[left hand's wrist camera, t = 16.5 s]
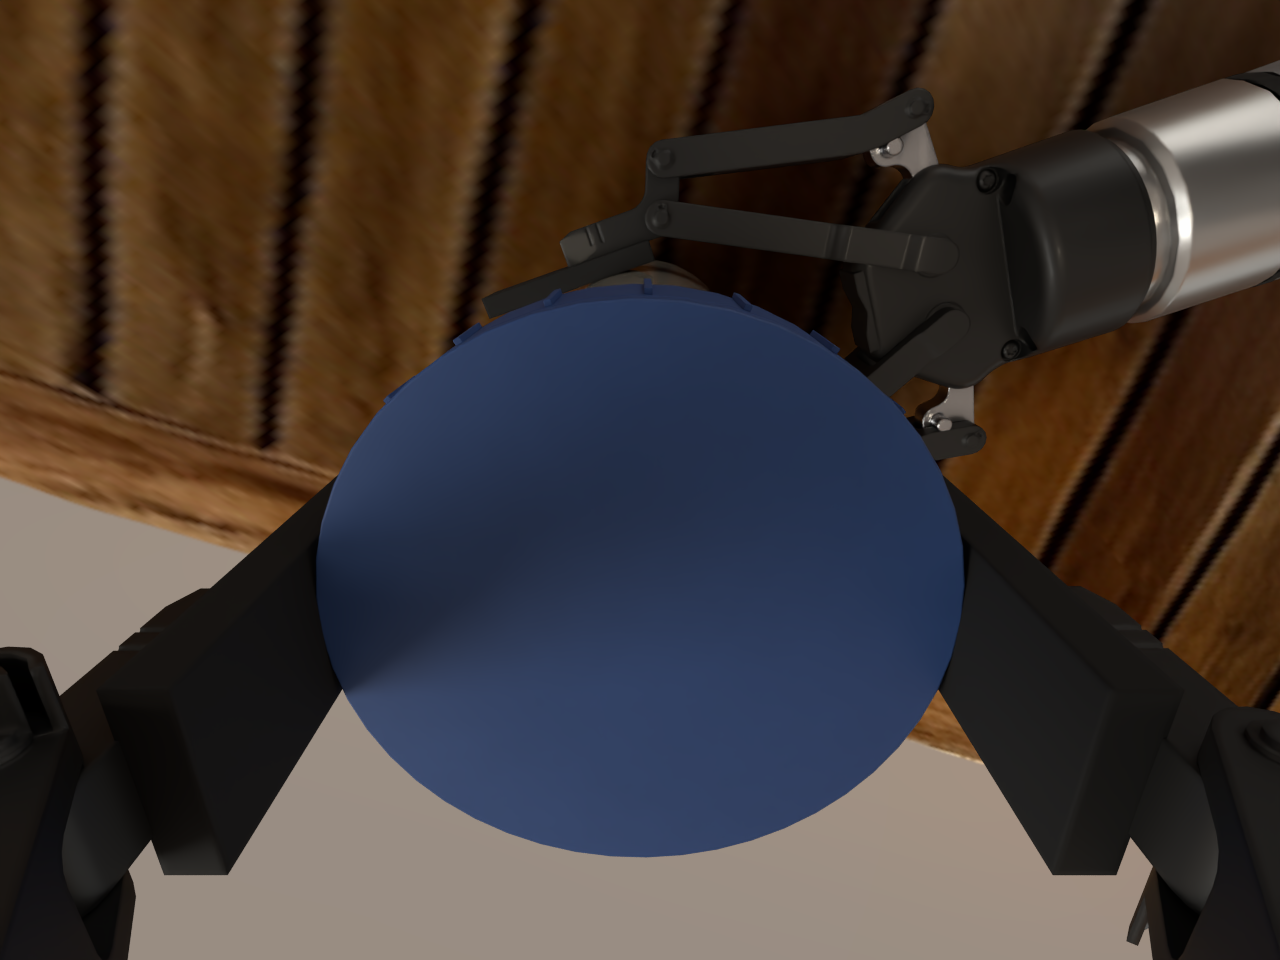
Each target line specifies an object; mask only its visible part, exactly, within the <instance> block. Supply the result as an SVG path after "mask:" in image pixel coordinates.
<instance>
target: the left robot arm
mask: <svg viewBox="0 0 1280 960" xmlns="http://www.w3.org/2000/svg"><path fill="white" fill-rule="evenodd" d="M942 476H943V475H942ZM337 477H338V475H337V476H336V477H335V478H334V479H333V480H332V481H331V482H330V483H328V484H327V485H326V486H325V487H324V488H323V489H322V490H321V491H319V492H318V493H317V494H316V495H315V496H314V497H313V498H312V499H310V500H309V501H308V502H307V503H306V504H305V505H304V506H303V507H301V508H300V509H299V510H298V511H297V512H296V513H295V514H294V515H292V516H291V517H290V518H289V519H288V520H287V521H286V522H285V523H283V524H282V525H281V526H280V527H279V528H278V529H277V530H276V531H274V532H273V533H272V534H271V535H270V536H269V537H268V538H267V539H265V540H264V541H263V542H262V543H261V544H260V545H259V546H258V547H256V548H255V549H254V550H253V551H252V552H251V553H250V554H248V555H247V556H246V557H245V558H244V559H243V560H242V561H241V562H239V563H238V564H237V565H236V566H235V567H234V568H233V569H232V570H230V571H229V572H228V573H227V574H226V575H225V576H224V577H223V578H221V579H220V580H219V581H218V582H217V583H216V584H215V585H214V586H212V587H211V588H210V589H199V590H197V591H195V592H193V593H191V594H189V595H187V596H185V597H183V598H182V599H180V600H178V601H176V602H174V603H172V604H170V605H168V606H166V607H165V608H164V609H162V610H161V611H160V612H159V613H158V614H156V615H155V616H154V617H153V618H152V619H151V620H149V621H148V622H147V623H146V624H145V625H144V626H142V627H141V628H140V632H137V633H134V634H133V635H132V636H130V637H129V638H128V639H127V640H126V641H124V642H123V643H122V644H121V645H120V646H119V650H118V651H113V652H111V653H110V654H109V655H108V656H107V657H106V658H104V659H103V660H102V661H101V662H100V663H98V664H97V665H96V666H95V667H94V668H92V669H91V670H90V671H89V672H88V673H87V674H85V675H84V676H83V677H82V678H81V679H79V680H78V681H77V682H76V683H75V684H74V685H72V686H71V687H70V688H69V689H68V690H66V691H65V692H64V693H63V694H62V695H60V696H59V694H58V691H57V689H56V686H55V684H54V681H53V679H52V676H51V674H50V671H49V669H48V666H47V664H46V661H45V659H44V656H43V654H41V653H39V652H38V651H36V650H34V649H32V648H25V647H3V648H0V960H128V952H129V945H130V937H131V930H132V922H133V915H134V907H135V899H136V895H135V890H134V884H133V880H132V878H131V875H130V873H129V870H128V869H129V867H130V866H131V865H132V864H133V862H134V861H135V860H136V858H137V857H138V856H139V854H140V853H141V852H142V851H143V849H144V848H145V847H146V845H147V844H148V843H149V842H150V840H151V841H152V843H153V846H154V849H155V851H156V854H157V857H158V859H159V862H160V865H161V868H162V870H163V873H164V875H228V874H229V872H230V870H231V869H232V867H233V865H234V864H235V862H236V860H237V859H238V857H239V856H240V854H241V852H242V851H243V849H244V847H245V846H246V844H247V843H248V841H249V840H250V838H251V836H252V835H253V833H254V831H255V830H256V828H257V827H258V825H259V823H260V822H261V820H262V818H263V817H264V815H265V814H266V812H267V810H268V809H269V807H270V805H271V804H272V802H273V801H274V799H275V797H276V796H277V794H278V792H279V791H280V789H281V788H282V786H283V784H284V783H285V781H286V780H287V778H288V776H289V775H290V773H291V771H292V770H293V768H294V767H295V765H296V763H297V762H298V760H299V759H300V757H301V755H302V754H303V752H304V750H305V749H306V747H307V746H308V744H309V742H310V741H311V739H312V737H313V736H314V734H315V733H316V731H317V729H318V728H319V726H320V724H321V723H322V721H323V720H324V718H325V716H326V715H327V713H328V712H329V710H330V708H331V707H332V705H333V703H334V702H335V700H336V699H337V697H338V695H339V694H340V692H341V690H342V687H341V685H340V682H339V680H338V678H337V676H336V674H335V672H334V670H333V668H332V665H331V661H330V658H329V655H328V652H327V648H326V644H325V640H324V636H323V631H322V626H321V621H320V615H319V610H318V605H317V600H316V556H317V549H318V543H319V536H320V530H321V523H322V519H323V516H324V513H325V510H326V507H327V504H328V501H329V497H330V494H331V491H332V488H333V485H334V483H335V481H336V479H337ZM943 479H944V481H945V484H946V486H947V489H948V492H949V494H950V497H951V499H952V502H953V505H954V507H955V511H956V516H957V520H958V525H959V530H960V535H961V540H962V544H963V558H964V577H965V588H964V598H963V608H962V613H961V619H960V624H959V628H958V633H957V638H956V642H955V647H954V651H953V654H952V657H951V660H950V662H949V665H948V667H947V669H946V672H945V674H944V677H943V679H942V681H941V684H940V686H939V689H938V690H939V691H940V693H941V695H942V696H943V698H944V699H945V701H946V703H947V704H948V706H949V708H950V709H951V711H952V712H953V714H954V716H955V717H956V719H957V721H958V722H959V724H960V725H961V727H962V729H963V730H964V732H965V733H966V735H967V737H968V738H969V740H970V742H971V743H972V745H973V746H974V748H975V750H976V751H977V753H978V755H979V756H980V758H981V759H982V761H983V763H984V764H985V766H986V768H987V769H988V771H989V772H990V774H991V776H992V777H993V779H994V780H995V782H996V784H997V785H998V787H999V789H1000V790H1001V792H1002V793H1003V795H1004V797H1005V798H1006V800H1007V801H1008V803H1009V805H1010V806H1011V808H1012V810H1013V811H1014V813H1015V815H1016V816H1017V818H1018V819H1019V821H1020V823H1021V824H1022V826H1023V827H1024V829H1025V831H1026V832H1027V834H1028V836H1029V837H1030V839H1031V840H1032V842H1033V844H1034V845H1035V847H1036V849H1037V850H1038V852H1039V853H1040V855H1041V856H1042V858H1043V860H1044V861H1045V863H1046V865H1047V866H1048V868H1049V870H1050V871H1051V873H1052V874H1053V875H1117V872H1118V869H1119V866H1120V864H1121V861H1122V858H1123V856H1124V853H1125V850H1126V848H1127V845H1128V842H1129V839H1130V837H1131V838H1132V840H1133V841H1134V842H1135V844H1136V845H1137V846H1138V847H1139V849H1140V850H1141V851H1142V853H1143V854H1144V855H1145V856H1146V858H1147V859H1148V860H1149V862H1150V863H1151V864H1152V865H1153V868H1152V870H1151V873H1150V875H1149V878H1148V880H1147V883H1146V885H1145V888H1144V891H1143V893H1142V896H1141V898H1140V901H1139V903H1138V906H1137V908H1136V911H1135V913H1134V916H1133V918H1132V921H1131V923H1130V926H1129V931H1128V936H1127V941H1128V942H1130V943H1133V944H1135V945H1137V946H1138V944H1139V942H1140V939H1141V937H1142V934H1143V932H1144V930H1145V929H1147V928H1149V935H1150V942H1151V950H1152V957H1153V960H1280V713H1277V712H1274V711H1269V710H1263V709H1258V708H1252V707H1238V706H1236V705H1235V704H1234V703H1233V702H1232V701H1230V700H1229V699H1228V698H1227V697H1226V696H1224V695H1223V694H1222V693H1221V692H1220V691H1218V690H1217V689H1216V688H1215V687H1214V686H1213V685H1211V684H1210V683H1209V682H1208V681H1207V680H1205V679H1204V678H1203V677H1202V676H1201V675H1199V674H1198V673H1197V672H1196V671H1195V670H1193V669H1192V668H1191V667H1190V666H1189V665H1187V664H1186V663H1185V662H1184V661H1183V660H1181V659H1180V658H1179V657H1178V656H1177V655H1175V654H1174V653H1173V652H1172V651H1171V650H1169V649H1168V648H1163V646H1162V643H1161V642H1160V641H1159V640H1158V639H1156V638H1155V637H1154V636H1153V635H1152V634H1150V633H1149V632H1148V631H1147V630H1142V629H1141V625H1140V624H1138V623H1137V622H1136V621H1135V620H1134V619H1132V618H1131V617H1130V616H1129V615H1128V614H1126V613H1125V612H1124V611H1123V610H1122V609H1120V608H1119V607H1118V606H1117V605H1116V604H1114V603H1112V602H1110V601H1108V600H1106V599H1104V598H1102V597H1100V596H1098V595H1096V594H1095V593H1093V592H1091V591H1089V590H1087V589H1085V588H1083V587H1081V586H1067V585H1066V584H1065V583H1064V582H1062V581H1061V580H1060V579H1059V578H1058V577H1057V576H1056V575H1055V574H1053V573H1052V572H1051V571H1050V570H1049V569H1048V568H1047V567H1046V566H1044V565H1043V564H1042V563H1041V562H1040V561H1039V560H1038V559H1036V558H1035V557H1034V556H1033V555H1032V554H1031V553H1030V552H1029V551H1027V550H1026V549H1025V548H1024V547H1023V546H1022V545H1021V544H1020V543H1018V542H1017V541H1016V540H1015V539H1014V538H1013V537H1012V536H1011V535H1009V534H1008V533H1007V532H1006V531H1005V530H1004V529H1003V528H1002V527H1000V526H999V525H998V524H997V523H996V522H995V521H994V520H993V519H991V518H990V517H989V516H988V515H987V514H986V513H985V512H984V511H982V510H981V509H980V508H979V507H978V506H977V505H976V504H975V503H973V502H972V501H971V500H970V499H969V498H968V497H967V496H966V495H964V494H963V493H962V492H961V491H960V490H959V489H958V488H957V487H955V486H954V485H953V484H952V483H951V482H950V481H949V480H948V479H946V478H945V477H944V476H943Z"/></svg>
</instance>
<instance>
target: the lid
mask: <svg viewBox="0 0 1280 960" xmlns="http://www.w3.org/2000/svg"><path fill="white" fill-rule="evenodd" d="M453 342H454V343H455V345H456V346H454V347H453V348H452V349H450V350H449V351H448V352H446V353H445V354H444V355H442V356H441V357H440V358H438V359H437V360H436V361H434V362H433V363H432V364H431V365H429V366H428V367H427V368H425V369H424V370H423V371H421V372H420V373H419V374H417V375H416V376H413V377H412V378H411V379H409V380H408V381H407V382H405V383H404V384H403V385H401V386H400V387H399V388H397V389H396V390H395V391H393V392H392V393H391V394H389V395H388V396H387V397H386V398H385V399H384V402H385V403H386V404H385V406H384V407H383V408H382V409H381V410H380V411H379V412H378V413H377V414H376V415H375V417H374V418H373V419H372V421H371V422H370V424H369V425H368V426H367V428H366V429H365V431H364V432H363V433H362V435H361V436H360V437H359V439H358V440H357V442H356V443H355V444H354V446H353V447H352V449H351V451H350V453H349V455H348V457H347V459H346V461H345V463H344V465H343V467H342V469H341V471H340V473H339V475H338V477H337V479H336V481H335V483H334V485H333V488H332V491H331V494H330V497H329V501H328V504H327V507H326V510H325V513H324V516H323V519H322V523H321V530H320V536H319V543H318V549H317V556H316V600H317V605H318V610H319V615H320V621H321V626H322V631H323V636H324V640H325V644H326V648H327V652H328V655H329V658H330V661H331V665H332V668H333V670H334V672H335V674H336V676H337V678H338V680H339V682H340V685H341V687H342V689H343V691H344V693H345V695H346V697H347V699H348V701H349V702H350V704H351V705H352V707H353V709H354V710H355V712H356V713H357V715H358V716H359V718H360V719H361V721H362V722H363V724H364V725H365V727H366V728H367V730H368V731H369V732H370V733H371V735H372V736H373V737H374V738H375V739H376V740H377V742H378V743H379V744H380V745H381V746H382V747H383V749H384V750H385V751H386V752H387V753H388V754H389V756H390V757H391V758H392V759H394V760H395V761H396V762H397V763H398V764H399V765H400V766H401V767H402V768H403V769H404V770H406V771H407V772H408V773H409V774H410V775H411V776H412V777H413V778H414V779H415V780H416V781H418V782H419V783H421V784H422V785H423V786H425V787H426V788H427V789H429V790H430V791H432V792H433V793H434V794H436V795H437V796H438V797H440V798H441V799H442V800H444V801H445V802H447V803H449V804H451V805H452V806H454V807H456V808H458V809H459V810H461V811H463V812H464V813H466V814H468V815H470V816H471V817H473V818H475V819H477V820H479V821H482V822H484V823H486V824H489V825H491V826H493V827H495V828H497V829H500V830H502V831H504V832H506V833H509V834H512V835H515V836H518V837H521V838H524V839H527V840H530V841H533V842H536V843H539V844H543V845H548V846H552V847H557V848H561V849H565V850H570V851H574V852H581V853H589V854H598V855H605V856H620V857H659V856H675V855H685V854H691V853H698V852H704V851H710V850H717V849H720V848H724V847H728V846H732V845H736V844H740V843H744V842H748V841H751V840H754V839H757V838H760V837H762V836H765V835H768V834H770V833H773V832H776V831H779V830H781V829H784V828H786V827H788V826H790V825H792V824H794V823H796V822H798V821H800V820H802V819H805V818H807V817H809V816H811V815H813V814H815V813H817V812H818V811H820V810H821V809H823V808H825V807H826V806H828V805H829V804H831V803H833V802H834V801H836V800H837V799H839V798H841V797H842V796H844V795H845V794H847V793H848V792H849V791H851V790H852V789H853V788H854V787H856V786H857V785H858V784H859V783H861V782H862V781H863V780H864V779H866V778H867V777H868V776H870V775H871V774H872V773H873V772H874V771H875V770H876V769H877V768H878V767H879V766H880V765H881V764H882V763H883V762H884V761H885V760H886V759H887V758H888V757H889V756H890V755H891V754H892V753H893V752H894V751H895V750H896V749H897V748H898V747H899V746H900V745H901V744H902V742H903V741H904V740H905V738H906V737H907V736H908V735H909V733H910V732H911V731H912V729H913V728H914V727H915V726H916V724H917V723H918V722H919V721H920V719H921V717H922V716H923V714H924V712H925V711H926V709H927V707H928V706H929V704H930V702H931V701H932V699H933V697H934V695H935V694H936V692H937V690H938V689H939V686H940V684H941V681H942V679H943V677H944V674H945V672H946V669H947V667H948V665H949V662H950V660H951V657H952V654H953V651H954V647H955V642H956V638H957V633H958V628H959V624H960V619H961V613H962V608H963V598H964V588H965V577H964V558H963V544H962V540H961V535H960V530H959V525H958V520H957V516H956V511H955V507H954V505H953V502H952V499H951V497H950V494H949V492H948V489H947V486H946V484H945V481H944V479H943V476H942V473H941V471H940V469H939V467H938V466H937V464H936V462H935V460H934V459H933V457H932V455H931V454H930V452H929V450H928V448H927V447H926V445H925V443H924V441H923V440H922V438H921V436H920V435H919V433H918V432H917V431H916V430H915V429H914V427H913V426H912V425H911V424H910V422H909V421H908V420H907V419H906V417H905V416H904V415H903V414H905V413H906V412H905V410H904V409H903V408H902V407H901V406H900V405H898V404H897V403H896V402H895V401H893V400H892V399H891V398H889V397H888V396H887V395H885V394H884V393H883V392H882V391H881V390H880V389H879V388H877V387H876V386H875V385H874V384H873V383H872V382H871V381H870V380H869V379H868V378H867V377H866V376H864V375H863V374H862V373H861V372H860V371H859V370H857V369H856V368H855V367H853V366H852V365H851V364H849V363H848V362H847V361H845V360H844V359H843V358H841V357H840V356H839V355H837V353H838V352H839V350H840V349H839V348H838V347H837V346H835V345H834V344H832V343H831V342H830V341H828V340H827V339H825V338H824V337H823V336H821V335H820V334H818V333H817V332H815V331H814V330H813V331H812V332H811V334H810V335H809V334H808V333H806V332H805V331H803V330H802V329H800V328H799V327H797V326H796V325H794V324H792V323H790V322H788V321H786V320H784V319H782V318H780V317H778V316H776V315H774V314H772V313H770V312H768V311H766V310H764V309H762V308H760V307H758V306H755V305H752V304H750V303H749V302H748V301H747V300H746V299H745V298H744V297H742V296H741V295H740V294H737V293H733V296H732V298H730V297H727V296H724V295H721V294H718V293H713V292H708V291H702V290H697V289H691V288H686V287H680V286H673V285H652V282H651V279H647V278H645V279H644V284H624V285H613V286H602V287H591V288H586V289H582V290H578V291H573V292H569V293H565V294H562V291H561V289H556V290H554V291H553V292H552V293H551V294H550V295H549V296H548V297H547V298H545V299H543V300H540V301H537V302H535V303H532V304H530V305H527V306H524V307H522V308H519V309H516V310H514V311H511V312H509V313H507V314H505V315H503V316H502V317H500V318H498V319H496V320H494V321H493V322H491V323H489V324H487V325H485V326H484V327H482V326H481V325H480V323H477V324H475V325H474V326H472V327H471V328H470V329H468V330H467V331H465V332H464V333H463V334H461V335H460V336H458V337H457V338H456V339H454V340H453Z"/></svg>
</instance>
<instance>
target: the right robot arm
mask: <svg viewBox="0 0 1280 960" xmlns="http://www.w3.org/2000/svg"><path fill="white" fill-rule="evenodd" d="M933 109H934V101H933V98H932V96H931V94H930V92H928V91H927V90H925V89H923V88H915V89H912V90H909V91H907V92H905V93H903V94H901V95H899V96H897V97H895V98H892V99H890V100H888V101H886V102H884V103H882V104H881V105H879V106H877V107H875V108H873V109H871V110H869V111H867V112H865V113H864V114H862V115H857V116H849V117H841V118H833V119H825V120H817V121H809V122H801V123H793V124H785V125H777V126H769V127H761V128H753V129H745V130H737V131H729V132H721V133H713V134H705V135H697V136H689V137H681V138H673V139H665V140H660V141H657V142H655V143H654V144H653V145H652V146H651V147H650V148H649V151H648V153H647V158H646V184H645V194H644V197H643V200H642V201H641V202H640V204H639V205H638V206H637V207H636V208H634V209H632V210H630V211H627V212H624V213H621V214H619V215H616V216H613V217H610V218H608V219H605V220H602V221H599V222H597V223H594V224H591V225H588V226H586V227H583V228H580V229H577V230H574V231H572V232H570V233H569V234H568V235H567V236H565V237H564V238H563V239H562V240H561V241H560V245H561V247H562V250H563V253H564V256H565V259H566V261H567V264H568V267H565V268H562V269H559V270H557V271H554V272H551V273H548V274H545V275H542V276H540V277H537V278H534V279H531V280H528V281H525V282H523V283H520V284H517V285H514V286H511V287H509V288H506V289H503V290H500V291H497V292H495V293H493V294H491V295H489V296H487V297H485V298H483V299H482V301H483V304H484V306H485V308H486V311H487V313H488V316H489V318H493V317H496V316H499V315H502V314H505V313H507V312H510V311H513V310H516V309H519V308H522V307H524V306H527V305H530V304H532V303H535V302H537V301H540V300H543V299H545V298H547V297H548V296H549V295H550V294H551V293H552V292H553V291H554V290H556V289H561V291H562V293H565V292H568V291H570V290H573V289H576V288H579V287H582V286H585V285H588V284H590V283H593V282H596V281H599V280H602V279H604V278H607V277H610V276H613V275H616V274H619V273H622V272H625V271H628V270H630V269H633V268H636V267H639V266H642V265H645V264H648V263H650V262H653V261H655V259H654V256H653V253H652V249H651V246H650V243H649V241H650V240H652V239H655V238H658V237H661V236H664V237H672V238H679V239H686V240H693V241H701V242H708V243H715V244H723V245H730V246H737V247H744V248H752V249H759V250H766V251H773V252H781V253H788V254H795V255H803V256H810V257H817V258H824V259H831V260H837V261H844V263H843V269H841V270H839V273H840V277H841V282H842V287H843V290H844V292H845V293H846V295H847V297H848V299H849V301H850V303H851V305H852V324H851V327H852V332H853V337H854V341H855V345H857V346H858V347H857V348H856V349H855V350H854V351H853V352H851V353H850V354H849V355H848V356H847V357H846V358H845V359H844V360H845V361H847V362H848V363H849V364H851V365H852V366H853V367H855V368H856V369H857V370H859V371H860V372H861V373H862V374H863V375H864V376H866V377H867V378H868V379H869V380H870V381H871V382H872V383H873V384H874V385H875V386H876V387H877V388H879V389H880V390H881V391H882V392H883V393H884V394H885V395H887V396H888V397H890V396H891V395H893V394H894V393H895V392H896V391H897V390H899V389H900V388H901V387H902V386H903V385H904V384H906V383H907V382H908V381H909V380H910V379H912V378H913V377H917V378H920V379H923V380H926V381H929V382H932V383H935V384H939V390H938V392H937V394H936V395H935V396H934V397H933V398H932V399H931V400H928V401H926V402H924V403H922V404H920V405H918V406H917V408H916V412H915V416H911V417H907V418H906V419H907V420H908V421H909V422H910V424H911V425H912V426H913V427H914V429H915V430H916V431H917V432H918V433H919V435H920V436H921V438H922V440H923V441H924V443H925V445H926V447H927V448H928V450H929V452H930V454H931V455H932V457H933V459H934V460H940V459H946V458H951V457H957V456H963V455H969V454H973V453H976V452H978V451H979V450H980V449H982V447H983V446H984V444H985V442H986V433H985V431H984V430H983V429H982V428H981V427H979V426H977V425H976V424H975V423H974V385H975V384H977V383H979V382H980V381H981V380H983V379H984V378H985V377H986V376H987V375H988V374H989V373H990V372H991V371H993V370H994V369H996V368H997V367H999V366H1001V365H1003V364H1005V363H1008V362H1011V361H1015V360H1019V359H1023V358H1027V357H1031V356H1034V355H1037V354H1041V353H1044V352H1047V351H1050V350H1053V349H1057V348H1060V347H1063V346H1066V345H1069V344H1073V343H1076V342H1079V341H1082V340H1086V339H1089V338H1092V337H1095V336H1098V335H1102V334H1105V333H1108V332H1111V331H1114V330H1116V329H1118V328H1120V327H1122V326H1123V325H1124V324H1126V323H1127V322H1128V323H1137V322H1145V321H1148V320H1152V319H1155V318H1158V317H1161V316H1164V315H1167V314H1170V313H1173V312H1176V311H1179V310H1182V309H1185V308H1188V307H1191V306H1194V305H1197V304H1201V303H1204V302H1207V301H1210V300H1213V299H1216V298H1219V297H1222V296H1225V295H1228V294H1231V293H1234V292H1237V291H1240V290H1243V289H1246V288H1249V287H1255V286H1258V285H1262V284H1265V283H1268V282H1272V281H1274V280H1275V279H1279V278H1280V60H1279V61H1276V62H1273V63H1271V64H1268V65H1265V66H1262V67H1259V68H1257V69H1254V70H1251V71H1248V72H1246V73H1242V74H1237V75H1233V76H1230V77H1227V78H1224V79H1220V80H1217V81H1214V82H1211V83H1208V84H1205V85H1202V86H1199V87H1196V88H1193V89H1191V90H1188V91H1185V92H1182V93H1179V94H1176V95H1173V96H1170V97H1167V98H1164V99H1161V100H1158V101H1156V102H1153V103H1150V104H1147V105H1144V106H1141V107H1138V108H1135V109H1132V110H1129V111H1126V112H1123V113H1120V114H1118V115H1115V116H1112V117H1109V118H1106V119H1104V120H1101V121H1099V122H1096V123H1094V124H1093V125H1092V126H1090V127H1089V128H1088V129H1087V130H1072V131H1068V132H1065V133H1062V134H1059V135H1057V136H1054V137H1051V138H1048V139H1045V140H1042V141H1039V142H1036V143H1033V144H1031V145H1028V146H1025V147H1022V148H1019V149H1016V150H1013V151H1010V152H1008V153H1005V154H1002V155H999V156H996V157H993V158H990V159H987V160H984V161H982V162H979V163H976V164H973V165H970V166H966V167H956V166H951V165H947V164H938V160H937V157H936V154H935V151H934V147H933V144H932V141H931V137H930V134H929V131H928V128H927V124H926V122H927V121H928V120H929V118H930V117H931V115H932V113H933ZM861 153H862V154H863V157H864V159H865V161H866V163H867V164H868V165H869V166H870V167H873V168H878V169H879V168H884V167H894V168H896V169H897V170H898V171H899V172H900V173H901V174H902V176H903V179H902V180H901V182H900V183H899V184H898V185H897V187H896V188H895V189H894V190H893V192H892V193H891V194H890V196H889V197H888V198H887V199H886V201H885V202H884V203H883V205H882V206H881V207H880V208H879V210H878V211H877V212H876V213H875V215H874V216H873V217H872V219H871V220H870V221H869V222H868V224H867V225H866V226H865V228H863V227H856V226H849V225H840V224H832V223H825V222H817V221H810V220H803V219H796V218H789V217H782V216H775V215H767V214H760V213H753V212H746V211H739V210H732V209H724V208H717V207H710V206H703V205H696V204H689V203H682V202H678V200H679V179H687V178H695V177H703V176H711V175H720V174H728V173H736V172H744V171H752V170H761V169H769V168H777V167H785V166H794V165H802V164H810V163H818V162H826V161H833V160H839V159H844V158H847V157H850V156H854V155H857V154H861Z"/></svg>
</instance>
